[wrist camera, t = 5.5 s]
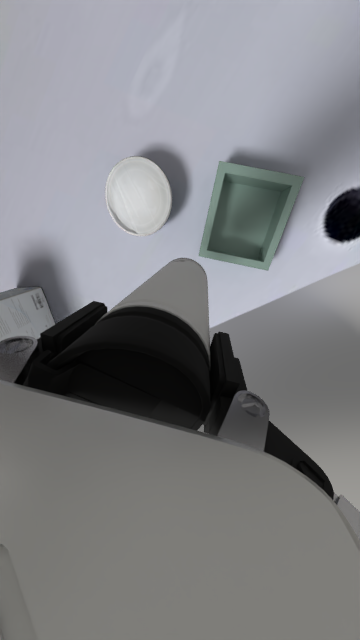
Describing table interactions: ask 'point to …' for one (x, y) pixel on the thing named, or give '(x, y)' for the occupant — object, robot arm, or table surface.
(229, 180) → the tray
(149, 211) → the ramekin
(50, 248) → the table surface
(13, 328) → the hard drive box
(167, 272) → the travel mug
